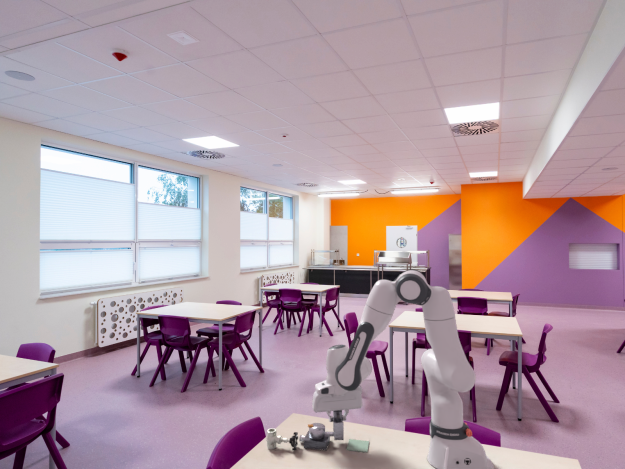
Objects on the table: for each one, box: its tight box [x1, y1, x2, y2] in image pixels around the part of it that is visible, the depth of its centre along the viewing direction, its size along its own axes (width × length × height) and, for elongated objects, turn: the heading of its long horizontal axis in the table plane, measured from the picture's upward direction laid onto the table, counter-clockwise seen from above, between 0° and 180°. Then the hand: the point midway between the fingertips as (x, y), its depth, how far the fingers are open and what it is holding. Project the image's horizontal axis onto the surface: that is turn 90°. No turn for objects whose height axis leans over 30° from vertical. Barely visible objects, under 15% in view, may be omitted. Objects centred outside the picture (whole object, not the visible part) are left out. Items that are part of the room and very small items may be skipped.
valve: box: [265, 427, 299, 451], centre depth 153 cm, size 7×7×12 cm
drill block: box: [298, 430, 331, 451], centre depth 156 cm, size 12×8×3 cm
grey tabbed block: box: [332, 410, 343, 432], centre depth 157 cm, size 3×6×8 cm, turn 0°
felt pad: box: [346, 438, 370, 453], centre depth 154 cm, size 8×8×1 cm
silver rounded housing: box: [307, 421, 345, 441], centre depth 156 cm, size 14×8×7 cm, turn 89°
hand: (337, 420), depth 157 cm, fingers closed on grey tabbed block, 4 cm apart
